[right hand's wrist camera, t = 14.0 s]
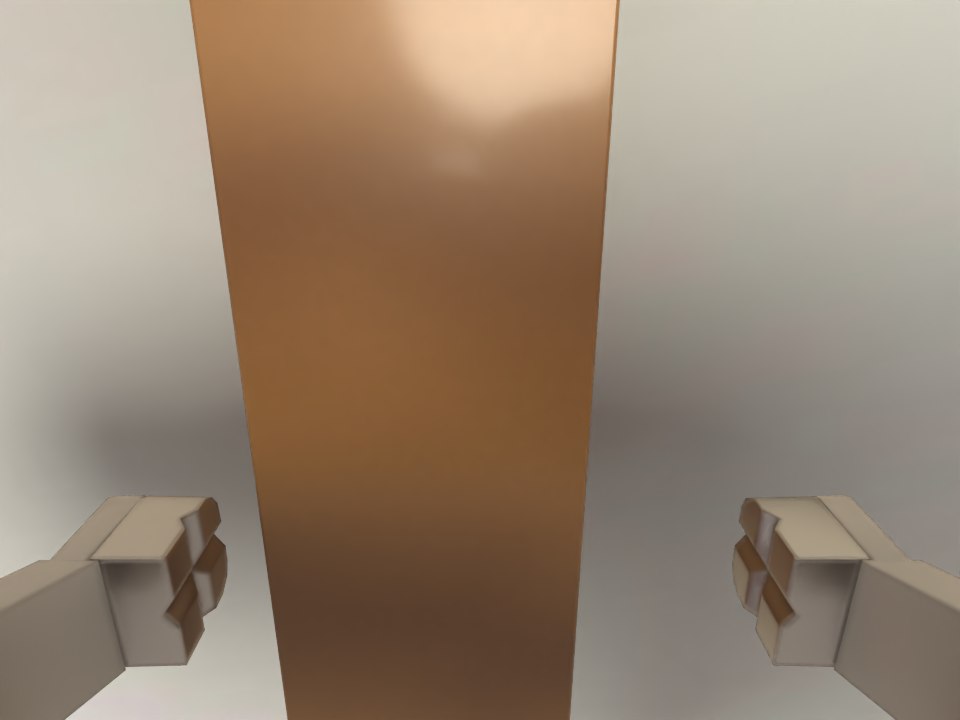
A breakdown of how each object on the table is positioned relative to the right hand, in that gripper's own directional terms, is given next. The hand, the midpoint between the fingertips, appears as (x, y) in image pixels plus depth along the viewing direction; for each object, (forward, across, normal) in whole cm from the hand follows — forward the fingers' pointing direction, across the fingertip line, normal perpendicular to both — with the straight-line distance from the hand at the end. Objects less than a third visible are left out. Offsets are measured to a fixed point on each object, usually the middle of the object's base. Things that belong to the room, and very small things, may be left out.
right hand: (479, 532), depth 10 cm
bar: (+8, +1, -9) cm, 12 cm away
